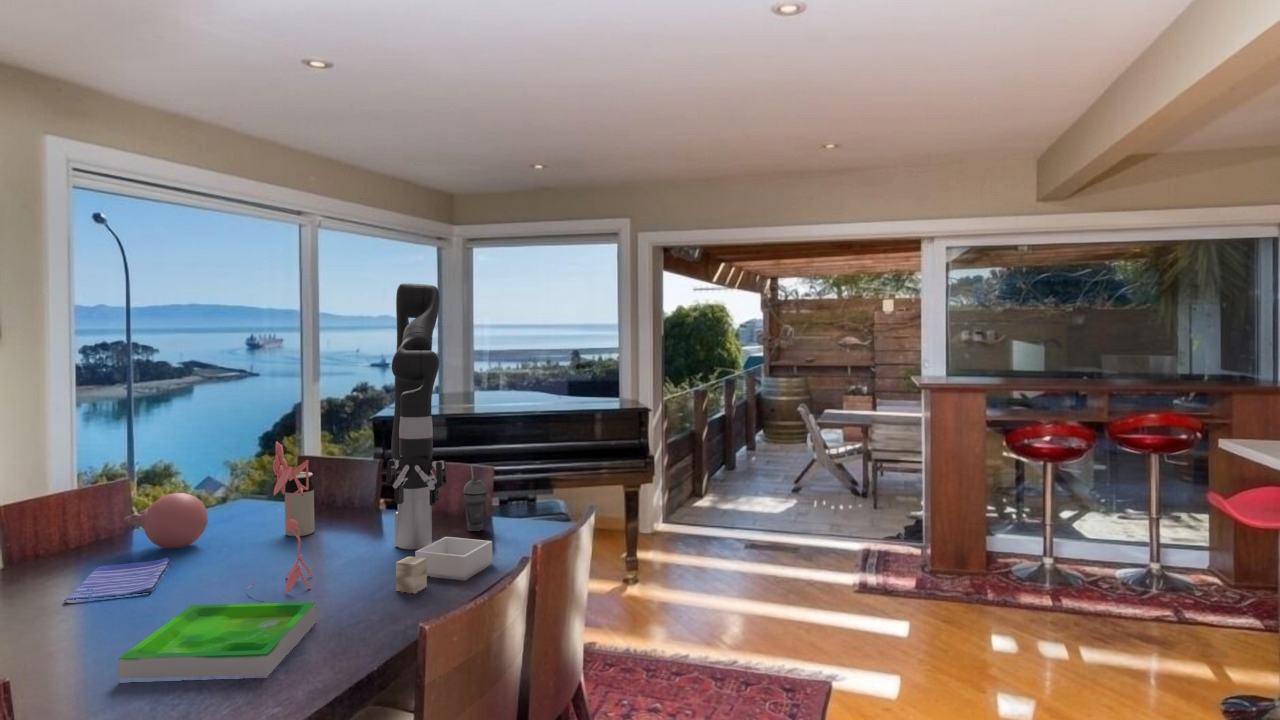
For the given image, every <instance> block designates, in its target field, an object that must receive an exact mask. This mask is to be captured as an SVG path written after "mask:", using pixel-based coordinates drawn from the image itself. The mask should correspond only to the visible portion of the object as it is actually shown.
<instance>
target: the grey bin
mask: <svg viewBox="0 0 1280 720" xmlns="http://www.w3.org/2000/svg"><path fill="white" fill-rule="evenodd" d="M414 557H420V558H427V577H428V576H430V577H429V578H437V579H439V578H440V579H445V580H446V579H447V580H454V579H455V580H456V581H463V582H464V581H467V580H469V579H470V578H472V577H473V576H475V575H477V574H478V573H480V572H482V571H483V570H485V569H486V568H487V567H490V566H491V565H493V540H483V539H472V538H464V537H463V538H462V537H453V536H444V537H442V538H440V539H438V540H435V541H434V542H432V544H429V545H427V546H425V547H423V548H421V549H416V550H415V552H414Z"/></svg>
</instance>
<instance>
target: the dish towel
mask: <svg viewBox="0 0 1280 720" xmlns="http://www.w3.org/2000/svg"><path fill="white" fill-rule="evenodd" d="M170 567H172V563H170V561H169V558H168V557H164V558H162V559H157V560H151V561H143V562H130V563H125V564H113V565H111V564H110V565H103V566H99V567H96V568H94V569H93V570H92V572H91V573H90V574H89V575H88V576H87V578H85V579H86V580H85V579H84V580H83V582H81V584H80V585H79V586H77V587H76V589H75V590H74V591H75V592H74V591H73V592H74V593H73V592H72V593H73V594H80V593H92V592H94V593H95V594H85V595H86V596H85V595H84V594H82V595H71V594H70V595H71V596H70V595H69V596H68V597H66V599H65V600H73V599H74V600H76V599H89V598H104V597H116V596H125V595H133V594H143V593H150V594H152V592H151V591H152V590H153V589H154V588H155V587H156V586H158V585H159V584H160V582H161V581H162V580H161V578H162V577H163V575H164V574H165V572H167V571H168V572H169V570H170V569H171V568H170ZM169 568H170V569H169ZM168 569H169V570H168ZM168 572H167V573H168ZM163 578H164V577H163ZM160 580H161V581H160ZM159 581H160V582H159ZM158 583H159V584H158ZM157 584H158V585H157ZM156 588H157V587H156ZM156 588H155V589H156ZM87 589H90V590H91V589H93V591H87V592H86V591H85V592H83V590H87ZM155 589H154V590H155ZM96 592H97V594H96ZM98 592H100V593H98ZM101 592H102V593H101ZM88 595H92V596H88Z"/></svg>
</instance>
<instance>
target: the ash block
mask: <svg viewBox="0 0 1280 720" xmlns="http://www.w3.org/2000/svg"><path fill="white" fill-rule="evenodd" d="M427 577H428V576H427V558H420V557H415V556H411V555H410V556H406V557H404V558H402V559H400V560H398V561H395V581H396V582H395V583H396V585H395V588H396V589H395V591H401V592H400V593H403V592H407V593H406V594H411V593H414V594H413V595H415V594H417V593H419V592H421V591H422V590H424V589H426V588H427V587H428V586H427V583H428V581H427V579H428V578H427ZM425 587H426V588H425ZM418 591H419V592H418Z"/></svg>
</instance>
